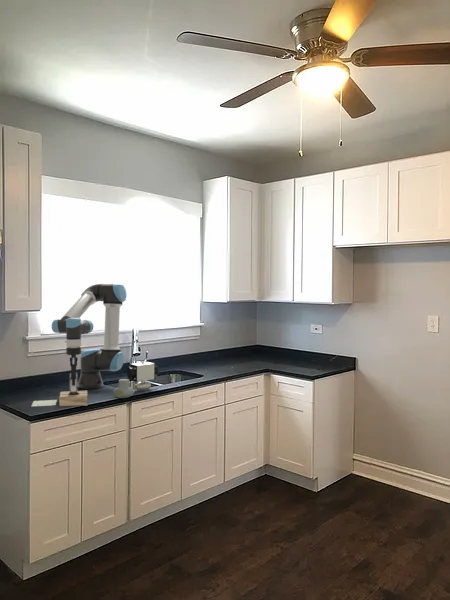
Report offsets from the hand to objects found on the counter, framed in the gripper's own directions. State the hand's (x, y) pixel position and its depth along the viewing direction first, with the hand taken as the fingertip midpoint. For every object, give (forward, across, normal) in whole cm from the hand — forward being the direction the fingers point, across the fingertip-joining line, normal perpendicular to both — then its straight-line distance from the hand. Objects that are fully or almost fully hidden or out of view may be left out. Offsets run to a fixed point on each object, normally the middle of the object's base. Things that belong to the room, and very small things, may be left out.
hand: (73, 390), depth 268 cm
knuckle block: (+7, 0, 0) cm, 7 cm away
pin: (+5, 0, 0) cm, 5 cm away
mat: (+7, -2, -15) cm, 17 cm away
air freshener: (+7, -8, +27) cm, 29 cm away
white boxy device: (+7, -24, +39) cm, 46 cm away
